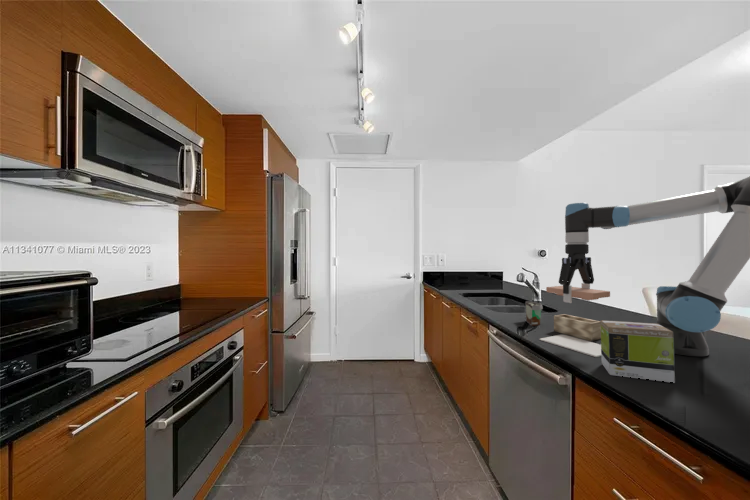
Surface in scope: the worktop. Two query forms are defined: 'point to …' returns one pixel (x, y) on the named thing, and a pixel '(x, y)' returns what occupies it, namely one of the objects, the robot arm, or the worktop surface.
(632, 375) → the tea box
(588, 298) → the peach flat tile
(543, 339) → the grey mat
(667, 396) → the worktop surface
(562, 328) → the birch box
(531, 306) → the food container
